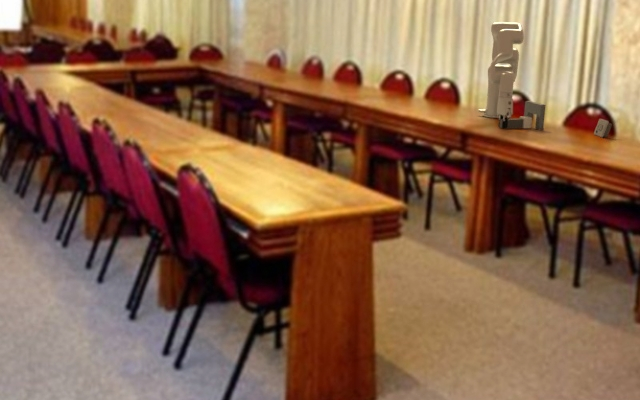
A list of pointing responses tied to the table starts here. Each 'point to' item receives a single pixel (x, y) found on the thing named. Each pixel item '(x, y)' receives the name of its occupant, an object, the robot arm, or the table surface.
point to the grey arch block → (535, 112)
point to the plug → (518, 122)
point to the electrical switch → (602, 128)
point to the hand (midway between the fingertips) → (502, 127)
